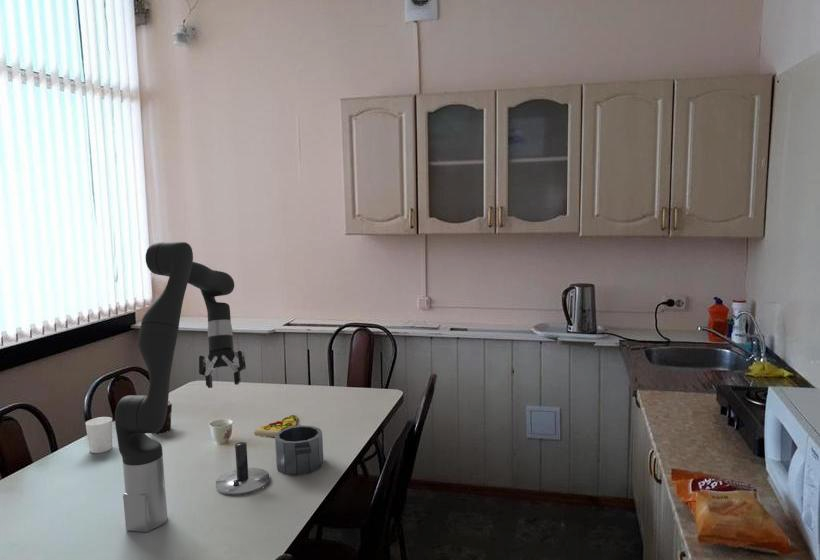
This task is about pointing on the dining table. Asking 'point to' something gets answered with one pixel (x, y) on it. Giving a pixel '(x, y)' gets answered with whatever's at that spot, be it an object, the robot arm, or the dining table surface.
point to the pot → (299, 450)
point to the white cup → (99, 434)
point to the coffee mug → (167, 419)
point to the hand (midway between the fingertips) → (223, 386)
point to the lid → (242, 476)
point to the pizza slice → (276, 426)
